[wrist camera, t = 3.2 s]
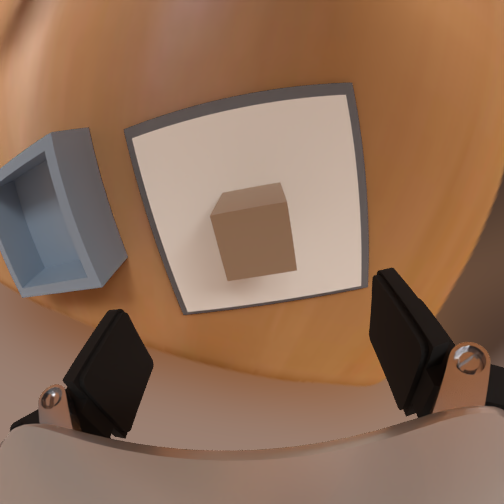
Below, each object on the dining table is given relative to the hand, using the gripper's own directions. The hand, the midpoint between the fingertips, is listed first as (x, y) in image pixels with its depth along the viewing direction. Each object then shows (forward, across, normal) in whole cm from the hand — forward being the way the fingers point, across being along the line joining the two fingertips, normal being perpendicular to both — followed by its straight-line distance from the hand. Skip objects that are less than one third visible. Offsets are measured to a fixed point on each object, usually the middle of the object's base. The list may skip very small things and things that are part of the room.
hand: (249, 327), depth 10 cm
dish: (+12, +18, -5) cm, 22 cm away
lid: (+12, 0, -1) cm, 12 cm away
